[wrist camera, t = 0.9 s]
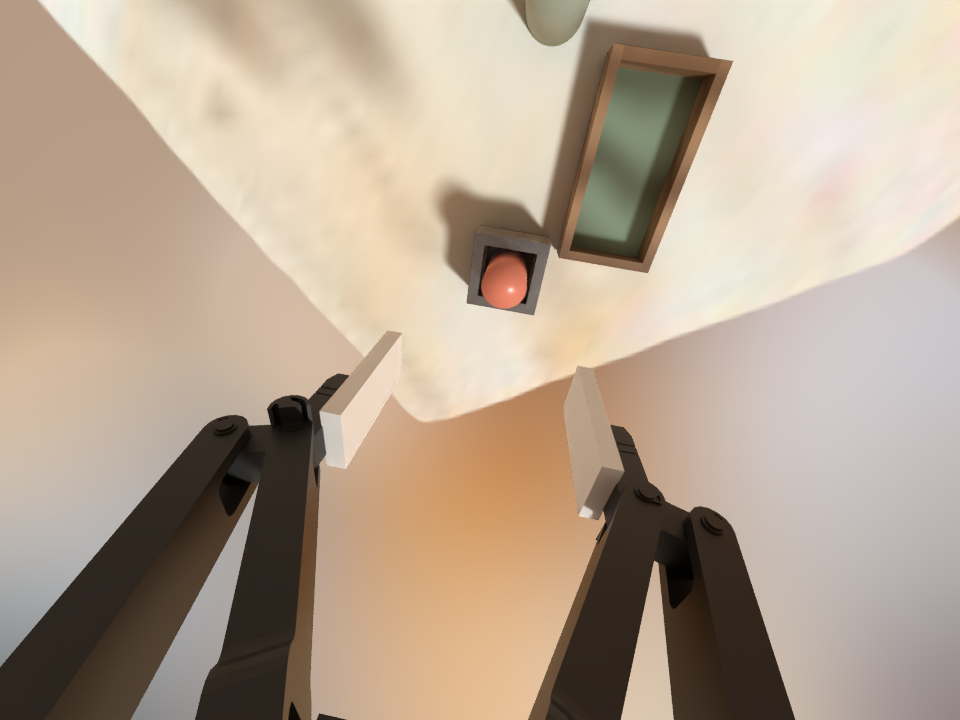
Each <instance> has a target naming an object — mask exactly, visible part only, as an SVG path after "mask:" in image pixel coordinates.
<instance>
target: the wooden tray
mask: <svg viewBox="0 0 960 720" xmlns="http://www.w3.org/2000/svg"><path fill="white" fill-rule="evenodd" d="M732 63H733V61H729V60H722V59H715V58H709V57H702V56H695V55H688V54H682V53H675V52H668V51H661V50H655V49H648V48H641V47H634V46H628V45H621V44H613V46H612V47H611V49H610V50H609V52H608V53H607V57H606V60H605V64H604V68H603V72H602V76H601V80H600V84H599V88H598V92H597V96H596V100H595V104H594V108H593V112H592V116H591V120H590V124H589V128H588V132H587V136H586V140H585V144H584V147H583V151H582V155H581V159H580V163H579V167H578V171H577V175H576V179H575V183H574V187H573V191H572V195H571V199H570V203H569V207H568V211H567V215H566V219H565V223H564V227H563V231H562V234H561V238H560V242H559V246H558V250H557V253H558V256H559V258H563V259H569V260H575V261H581V262H587V263H592V264H598V265H604V266H610V267H615V268H621V269H627V270H633V271H639V272H644V273H648V271H649V269H650V266H651V264H652V261H653V259H654V256H655V254H656V251H657V249H658V246H659V244H660V242H661V239H662V237H663V234H664V232H665V229H666V227H667V224H668V222H669V219H670V217H671V214H672V212H673V209H674V207H675V204H676V202H677V199H678V197H679V194H680V192H681V189H682V187H683V184H684V182H685V179H686V177H687V174H688V172H689V170H690V167H691V165H692V162H693V160H694V157H695V155H696V152H697V150H698V147H699V145H700V142H701V140H702V137H703V135H704V132H705V130H706V127H707V125H708V122H709V120H710V117H711V115H712V112H713V110H714V107H715V105H716V102H717V100H718V98H719V95H720V93H721V90H722V88H723V85H724V83H725V80H726V78H727V75H728V73H729V70H730V68H731V65H732Z"/></svg>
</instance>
